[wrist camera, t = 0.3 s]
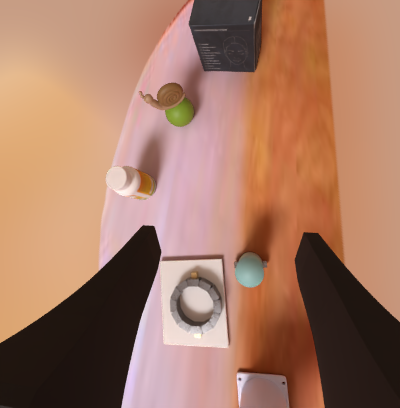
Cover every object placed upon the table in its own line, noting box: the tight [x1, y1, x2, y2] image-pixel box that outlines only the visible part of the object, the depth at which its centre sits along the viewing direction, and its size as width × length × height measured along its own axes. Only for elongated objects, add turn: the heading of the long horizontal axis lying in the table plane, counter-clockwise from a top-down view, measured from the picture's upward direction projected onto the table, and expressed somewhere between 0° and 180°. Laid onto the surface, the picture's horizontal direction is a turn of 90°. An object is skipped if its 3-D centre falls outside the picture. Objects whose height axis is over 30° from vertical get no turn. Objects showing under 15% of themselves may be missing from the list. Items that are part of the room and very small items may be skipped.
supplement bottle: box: [106, 166, 156, 200], centre depth 41 cm, size 5×5×10 cm
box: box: [189, 0, 262, 72], centre depth 39 cm, size 11×7×10 cm, turn 78°
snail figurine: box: [139, 83, 194, 127], centre depth 39 cm, size 5×6×12 cm
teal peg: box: [234, 252, 267, 287], centre depth 35 cm, size 4×5×8 cm
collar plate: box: [160, 259, 229, 348], centre depth 40 cm, size 15×12×3 cm
